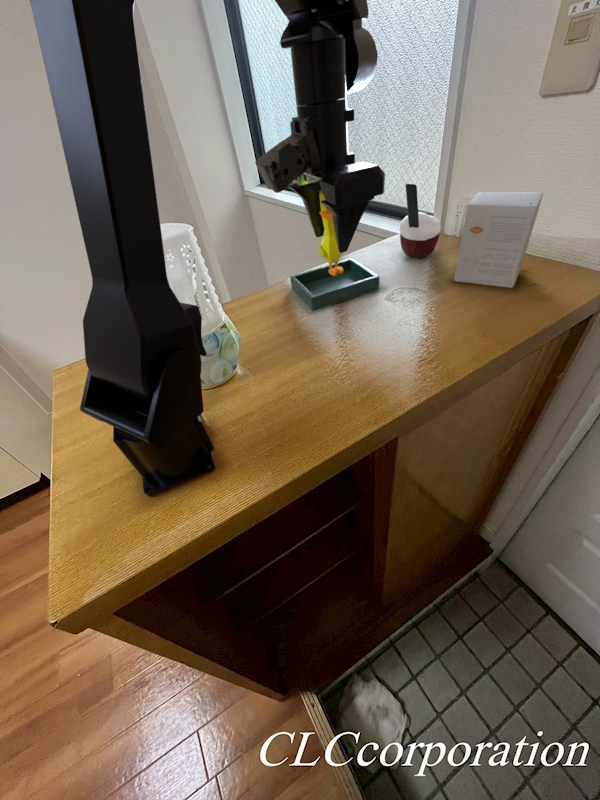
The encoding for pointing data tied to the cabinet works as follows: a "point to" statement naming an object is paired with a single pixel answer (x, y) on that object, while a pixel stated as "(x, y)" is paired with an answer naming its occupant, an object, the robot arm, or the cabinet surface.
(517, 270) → the small box
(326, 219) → the toy figure
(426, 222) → the red dessert cup
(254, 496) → the cabinet surface
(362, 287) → the tray
